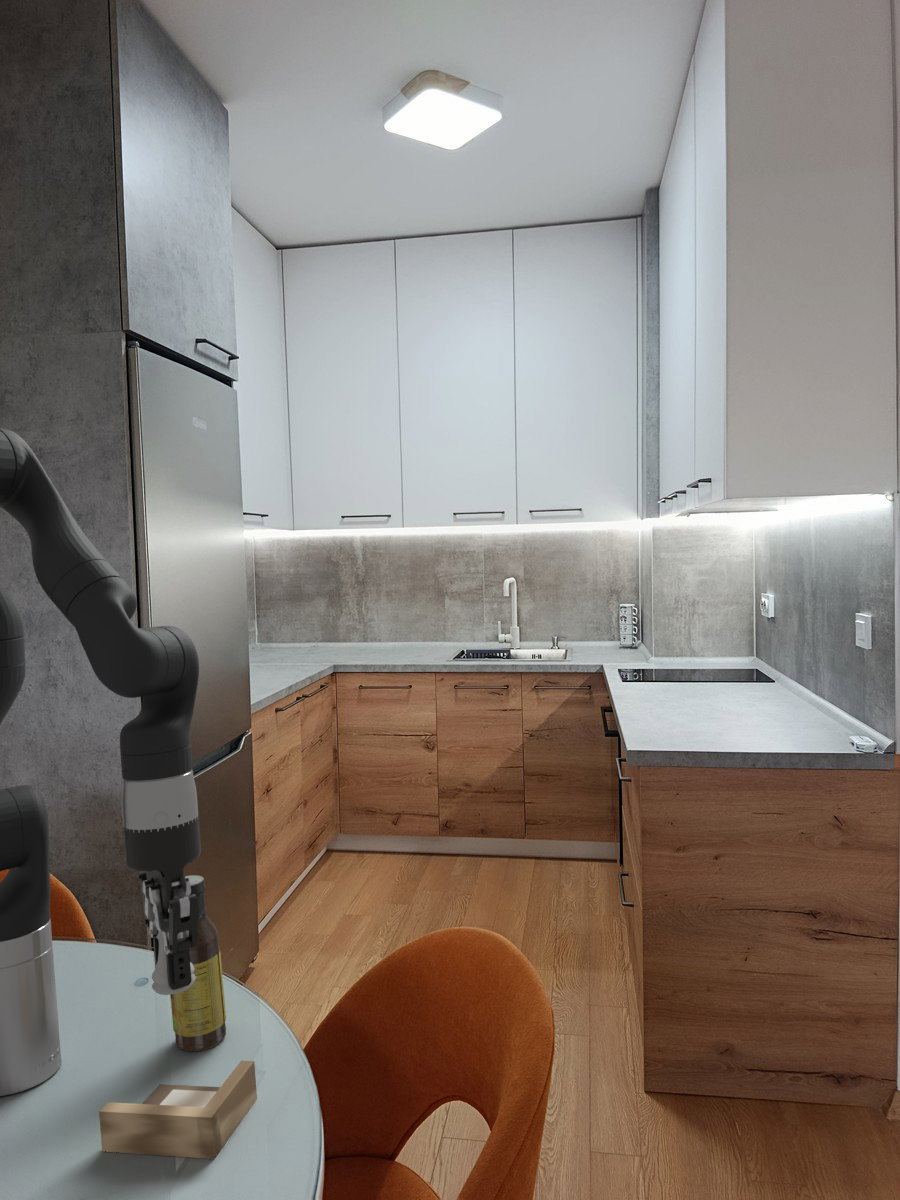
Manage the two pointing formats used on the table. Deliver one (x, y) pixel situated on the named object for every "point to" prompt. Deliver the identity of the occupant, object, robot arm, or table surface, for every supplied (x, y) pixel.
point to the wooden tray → (180, 1118)
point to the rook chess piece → (161, 969)
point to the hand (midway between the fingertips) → (173, 977)
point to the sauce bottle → (201, 986)
